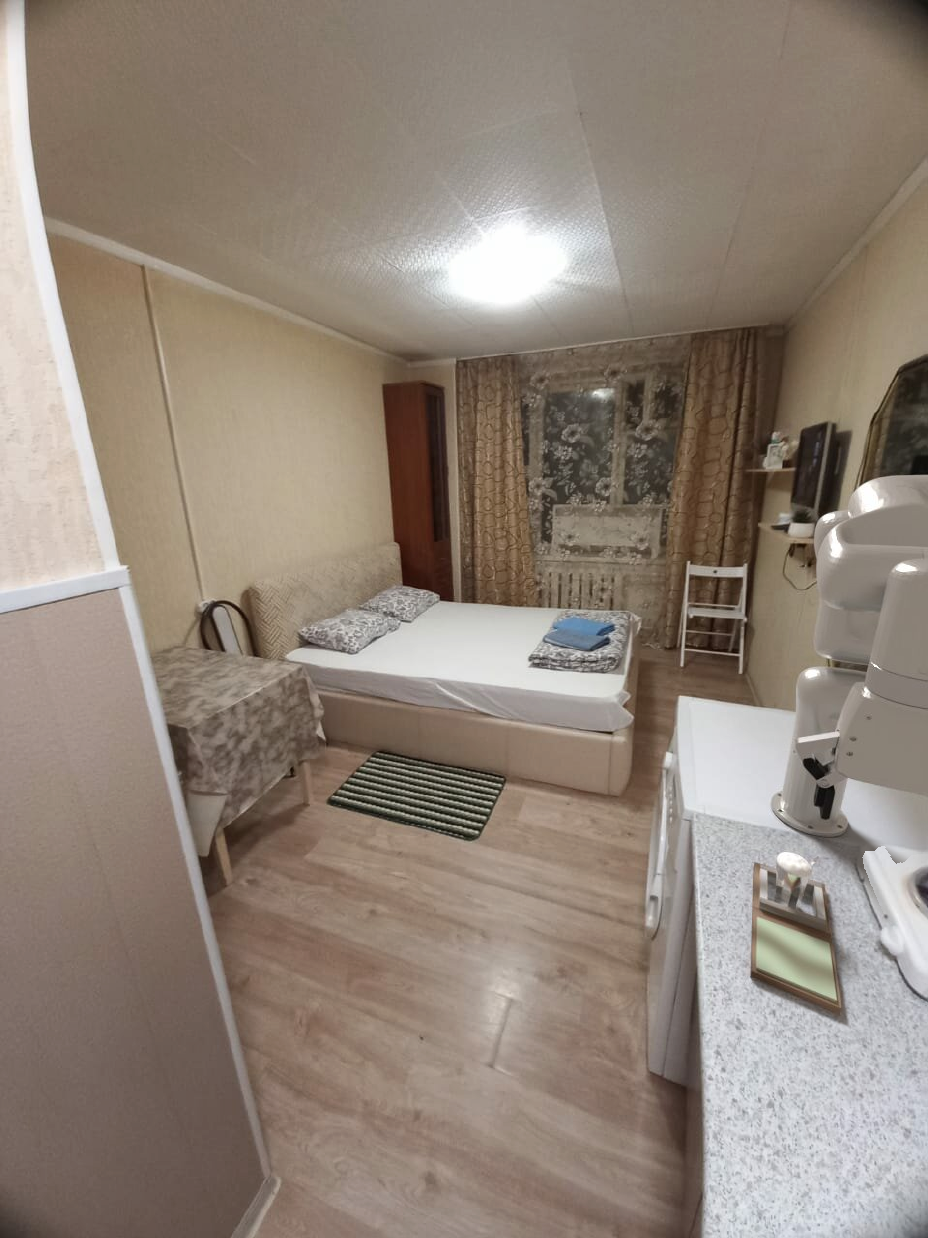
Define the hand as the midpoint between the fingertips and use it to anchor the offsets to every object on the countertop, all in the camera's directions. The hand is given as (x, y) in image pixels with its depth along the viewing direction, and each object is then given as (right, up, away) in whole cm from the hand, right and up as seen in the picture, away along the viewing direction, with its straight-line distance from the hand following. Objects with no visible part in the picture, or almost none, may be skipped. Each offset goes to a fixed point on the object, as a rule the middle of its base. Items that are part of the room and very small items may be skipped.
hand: (877, 826), depth 53 cm
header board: (+4, -25, +20) cm, 32 cm away
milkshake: (+7, -23, +25) cm, 35 cm away
